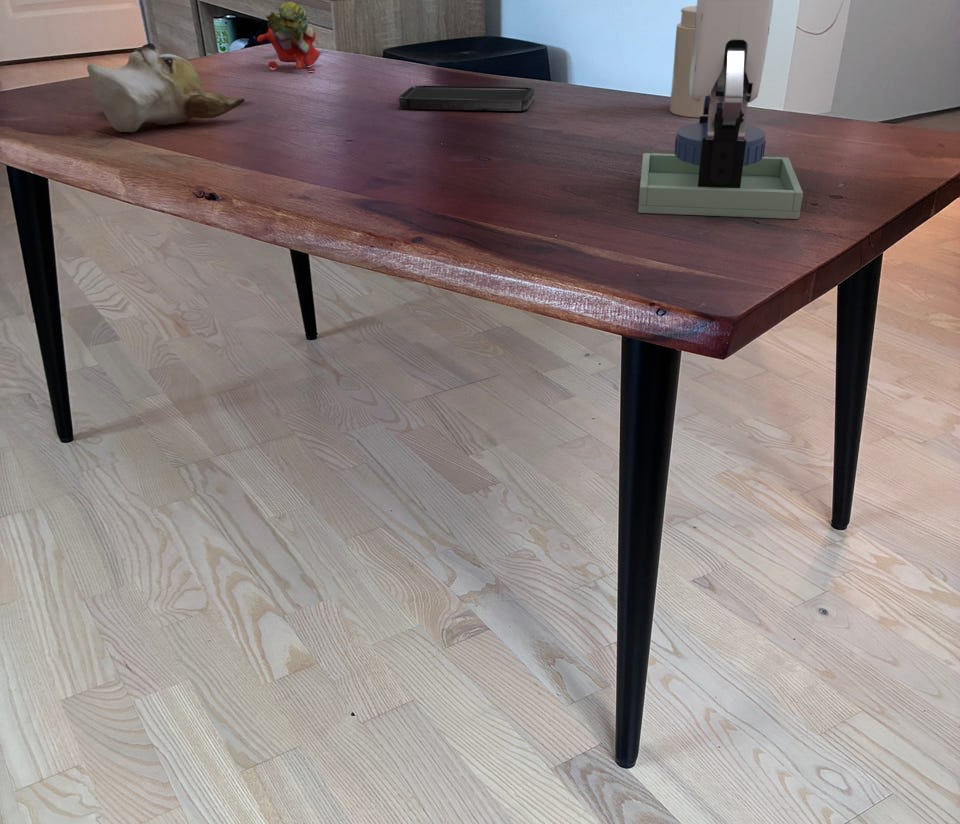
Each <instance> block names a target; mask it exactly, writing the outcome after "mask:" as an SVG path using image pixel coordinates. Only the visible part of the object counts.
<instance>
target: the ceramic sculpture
mask: <svg viewBox="0 0 960 824" xmlns="http://www.w3.org/2000/svg"><path fill="white" fill-rule="evenodd" d="M86 70H87V73H88V77H89V82H90V85H91V89H92V93H93V97H94V100H95V102H96V103H97V105H98V106H99V107H100V109H101V110H102V112H103V114H104V116H105V117H106V119H107V121H108V122H109V124H110V126H111V127H112V128H113V129H114V130H115V131H116V132H118V131H119V133H121V132H130V133H135V132H137V131H138V130H139V129H140V127H141V126H142V125H143V124H147V123H149V124H154V125H158V126H159V125H160V126H168V125H167V124H174V125H177V124H176V123H180V124H184V123H186V122H188V121H189V120H191V119H193V118H196V119H213V118H217V117H220V116H223V115H225V114H226V113H229V112H230V111H232V110H233V109H235V108H237V107H239V106H241V105H242V104H243V103H244V102H245V101H246V100H245V98H243V97H231V98H230V97H228V96H226V95H223V94H221V93H218V92H208V91H205V90H204V88H203V86H202V83H201V78H200V75H199V73H198V70H197V69H196V68H195V67H194V65H192V64H191V62H189V61H188V60H186V59H185V58H184V57H181V56H179V55H175V54H172V53H163V54H160V53H159V51H158V49H157V47H156V46H155V45H154V43H152V42H149V43H146V44H144V45H142V46H139V47H136V48H135V50H134V51H133V52H131V53H130V54H129V57H128V60H127V63H126V64H125V65H123V66H120V67H116V68H111V67H106V66H102V65H101V66H100V65H96V64H94V63H88V64H87V67H86ZM183 122H184V123H183Z"/></svg>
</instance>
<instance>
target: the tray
mask: <svg viewBox="0 0 960 824" xmlns="http://www.w3.org/2000/svg"><path fill="white" fill-rule="evenodd" d="M699 168H700V166H699V165H694V164H690V163H687V162H683V161H681V160H679V159H678V158H677V157H676V155H675V153H656V152H655V153H653V152H644V153H642V162H641V172H640V181H639V182H640V183H639V194H638V209H637V213H638V214H658V215H659V214H661V215H683V216H684V215H685V216H686V215H687V216H711V217H732V218H733V217H735V218H755V219H781V220H782V219H785V220H799V219H800V216H801V208H802V203H803V196H804V191H803V190H802V189H803V188H802V187H801V185H800V182H799V180H798V177H797V174H796V172H795V170H794V168H793V165H792V162H791V160H790V158H789V157H787V156H786V157H785V156H782V157H781V156H764V157H762V160H760V161H759V162H757V163H754V164H751V165H746V166H743V170H742V178H741V185H740V188H718V187H698V177H699Z"/></svg>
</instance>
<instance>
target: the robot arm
mask: <svg viewBox="0 0 960 824" xmlns="http://www.w3.org/2000/svg"><path fill="white" fill-rule="evenodd" d="M696 6H697V8H696V18H695V29H694V39H693V50H692V60H691V69H690V78H689V86H690V95H691V97H692V98H693V99H694V100H695V101H698V102H699V101H700V96H705V98H704V106H703V115H708V116H700V118H699V121H698V123H706V122H708V124H707V137H706V138H703V140H702V149H701V159H700V165H699V166H700V168H699V177H698V187H718V188H740V185H741V178H742V170H743V162H744V154H745V147H746V139H744V138H745V128H746V125H747V115H748V105H749V103H752V102H753V101H755V100H756V99H757V98H758V95H759V92H760V88H761V82H762V77H763V71H764V65H765V60H766V54H767V49H768V48H767V47H768V41H769V34H770V28H771V20H772V14H773V8H774V7H773V6H774V0H697V1H696ZM715 122H716V124H715Z"/></svg>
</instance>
